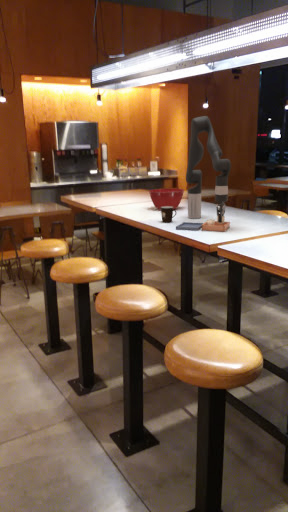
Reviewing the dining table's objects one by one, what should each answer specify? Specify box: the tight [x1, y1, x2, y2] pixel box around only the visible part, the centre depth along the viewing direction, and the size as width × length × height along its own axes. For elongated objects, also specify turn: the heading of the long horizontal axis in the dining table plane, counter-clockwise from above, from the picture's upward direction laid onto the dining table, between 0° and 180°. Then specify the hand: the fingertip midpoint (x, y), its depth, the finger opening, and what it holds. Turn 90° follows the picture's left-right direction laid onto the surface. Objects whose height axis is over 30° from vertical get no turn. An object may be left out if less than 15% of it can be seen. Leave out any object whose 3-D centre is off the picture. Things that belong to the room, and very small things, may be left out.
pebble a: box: [206, 219, 216, 225], centre depth 258 cm, size 4×4×4 cm
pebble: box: [216, 215, 226, 224], centre depth 255 cm, size 4×4×4 cm
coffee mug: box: [160, 206, 177, 224], centre depth 282 cm, size 12×9×10 cm
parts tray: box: [175, 221, 205, 232], centre depth 263 cm, size 16×14×2 cm
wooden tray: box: [201, 220, 231, 233], centre depth 257 cm, size 14×14×4 cm
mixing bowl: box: [148, 188, 185, 211], centre depth 338 cm, size 28×28×16 cm
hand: (220, 221), depth 255 cm, fingers closed on pebble, 4 cm apart
